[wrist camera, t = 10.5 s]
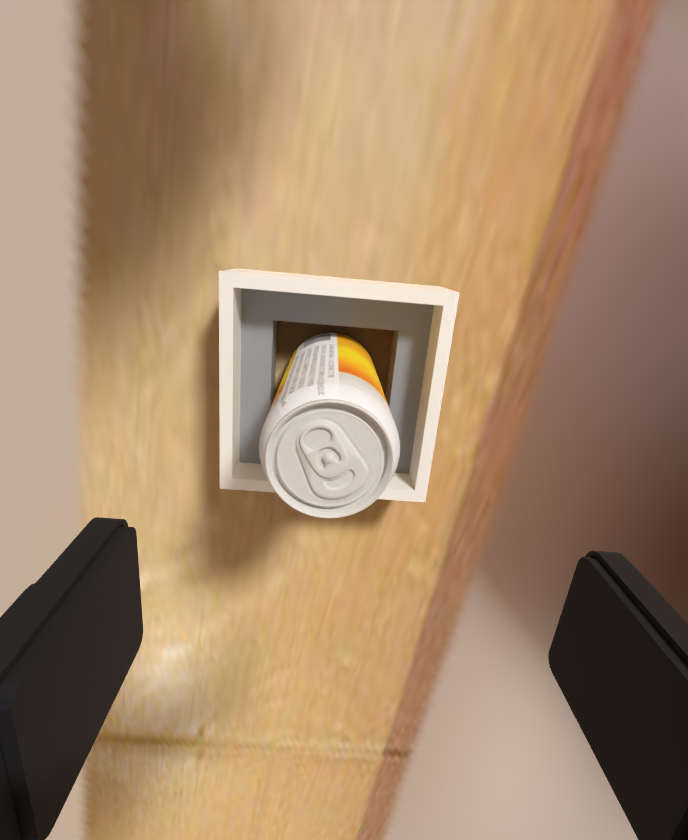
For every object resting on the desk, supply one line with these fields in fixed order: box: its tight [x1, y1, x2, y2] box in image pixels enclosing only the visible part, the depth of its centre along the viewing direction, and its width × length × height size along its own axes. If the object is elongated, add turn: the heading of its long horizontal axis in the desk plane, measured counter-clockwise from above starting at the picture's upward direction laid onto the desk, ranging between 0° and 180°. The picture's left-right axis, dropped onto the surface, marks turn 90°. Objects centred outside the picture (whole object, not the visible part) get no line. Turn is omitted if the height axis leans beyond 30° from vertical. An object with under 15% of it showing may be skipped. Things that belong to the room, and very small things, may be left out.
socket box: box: [219, 269, 459, 502], centre depth 31 cm, size 14×14×5 cm
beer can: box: [259, 333, 400, 519], centre depth 26 cm, size 6×6×15 cm
